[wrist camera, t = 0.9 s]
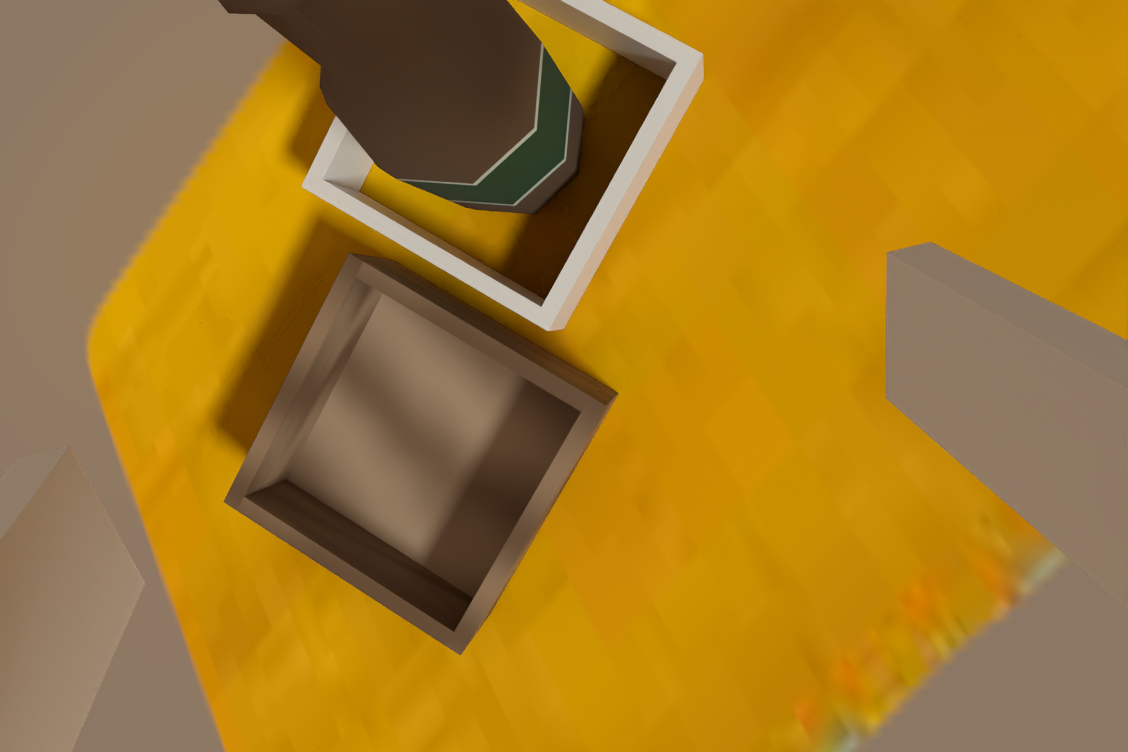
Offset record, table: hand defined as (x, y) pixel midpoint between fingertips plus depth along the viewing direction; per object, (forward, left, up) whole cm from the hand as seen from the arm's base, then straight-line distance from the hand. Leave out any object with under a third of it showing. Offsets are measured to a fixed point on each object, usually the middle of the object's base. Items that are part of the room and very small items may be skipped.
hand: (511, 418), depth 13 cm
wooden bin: (+10, -7, -27) cm, 30 cm away
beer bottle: (-5, -11, -28) cm, 30 cm away
